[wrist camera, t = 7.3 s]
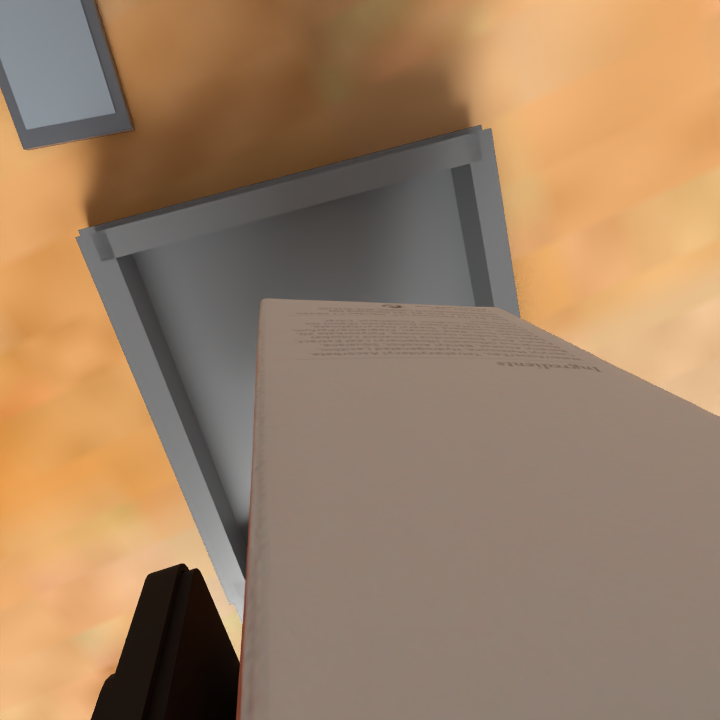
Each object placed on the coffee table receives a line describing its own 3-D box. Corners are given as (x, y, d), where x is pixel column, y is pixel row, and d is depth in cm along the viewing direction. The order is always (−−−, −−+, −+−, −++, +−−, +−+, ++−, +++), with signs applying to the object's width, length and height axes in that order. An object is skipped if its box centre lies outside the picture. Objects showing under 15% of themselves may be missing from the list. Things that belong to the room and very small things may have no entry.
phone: (-64, -121, 14) (-87, -142, 13) (56, -137, 15) (42, -160, 14) (36, 151, 17) (22, 149, 16) (138, 132, 17) (131, 128, 16)
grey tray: (88, 228, 17) (44, 236, 14) (470, 128, 18) (516, 113, 15) (258, 644, 23) (257, 721, 20) (539, 551, 24) (584, 609, 21)
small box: (259, 292, 12) (199, 870, 2) (500, 303, 13) (1394, 699, 3) (253, 599, 14) (214, 1641, 4) (458, 588, 15) (853, 1391, 5)
